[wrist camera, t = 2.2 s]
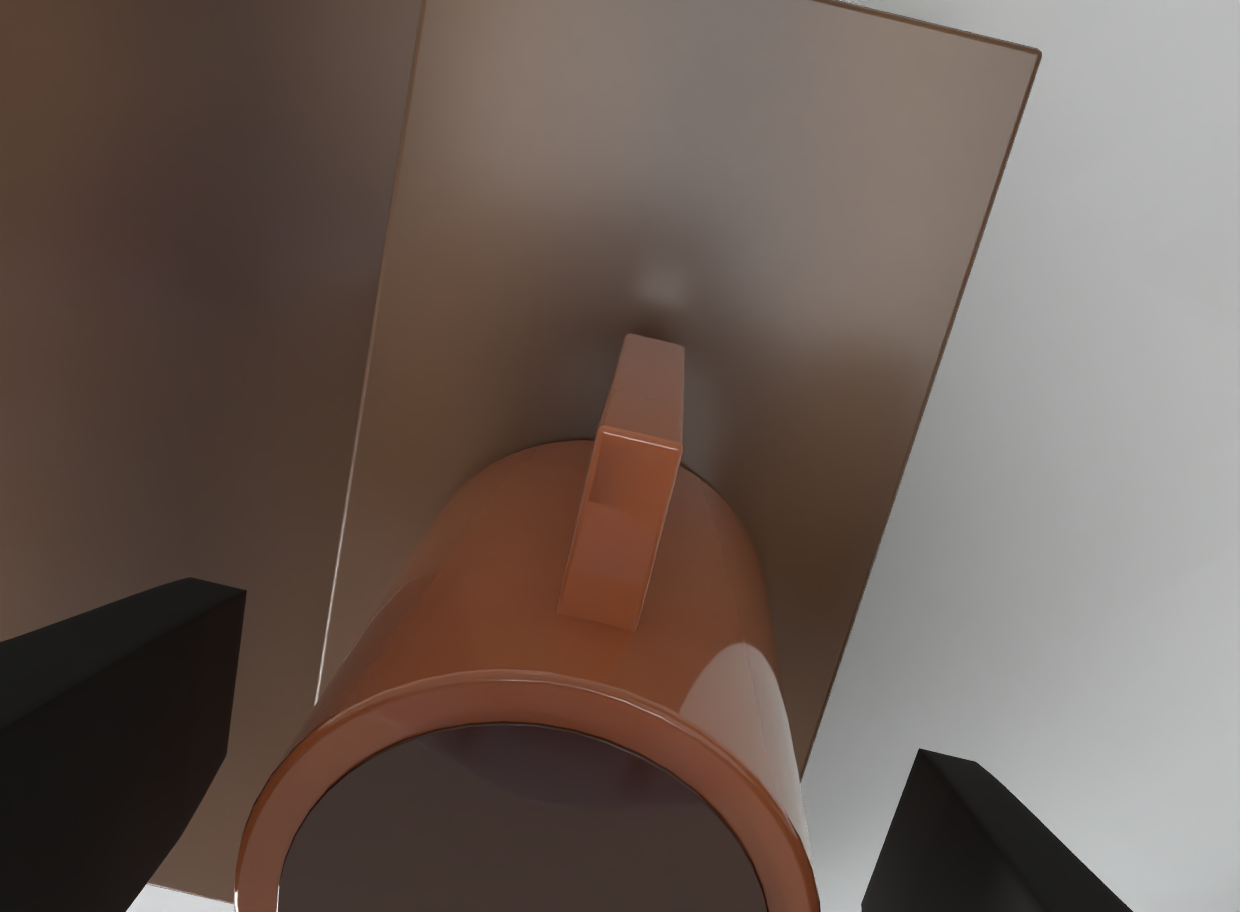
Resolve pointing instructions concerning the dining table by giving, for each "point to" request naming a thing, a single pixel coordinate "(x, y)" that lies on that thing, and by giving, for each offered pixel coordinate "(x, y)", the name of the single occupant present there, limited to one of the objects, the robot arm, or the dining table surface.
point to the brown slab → (460, 295)
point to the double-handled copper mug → (554, 702)
